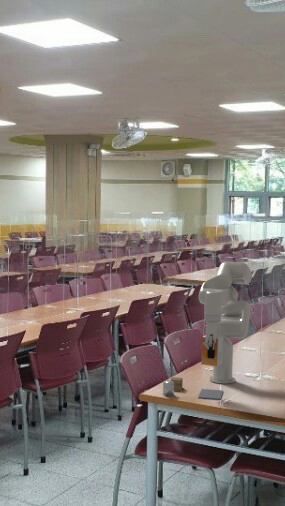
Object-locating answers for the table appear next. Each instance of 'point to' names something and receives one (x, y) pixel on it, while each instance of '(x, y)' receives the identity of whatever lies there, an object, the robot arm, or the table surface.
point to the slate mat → (210, 394)
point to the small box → (218, 352)
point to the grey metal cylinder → (168, 388)
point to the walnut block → (177, 383)
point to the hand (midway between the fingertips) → (211, 356)
